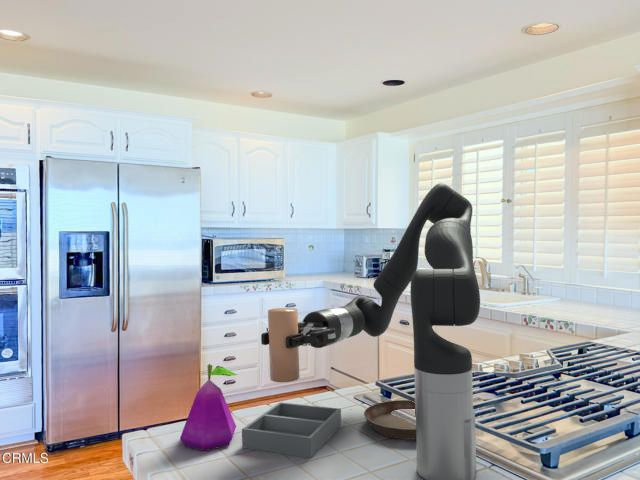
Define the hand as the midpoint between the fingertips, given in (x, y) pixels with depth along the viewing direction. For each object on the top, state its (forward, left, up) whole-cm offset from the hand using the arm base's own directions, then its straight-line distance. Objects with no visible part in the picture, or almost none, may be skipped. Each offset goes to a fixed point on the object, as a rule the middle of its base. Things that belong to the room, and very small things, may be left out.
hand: (275, 341), depth 94 cm
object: (-21, -18, -20) cm, 34 cm away
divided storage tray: (-1, -6, -20) cm, 21 cm away
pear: (+14, +1, -20) cm, 25 cm away
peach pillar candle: (-1, -2, -7) cm, 8 cm away
